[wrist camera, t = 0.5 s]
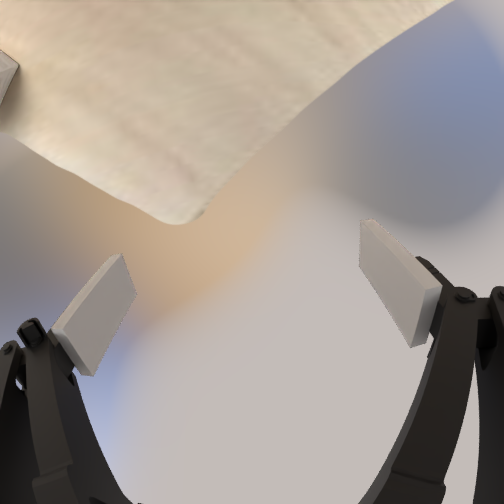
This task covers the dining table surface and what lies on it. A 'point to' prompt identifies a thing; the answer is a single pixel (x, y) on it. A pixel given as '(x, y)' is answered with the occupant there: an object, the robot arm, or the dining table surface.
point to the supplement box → (6, 73)
